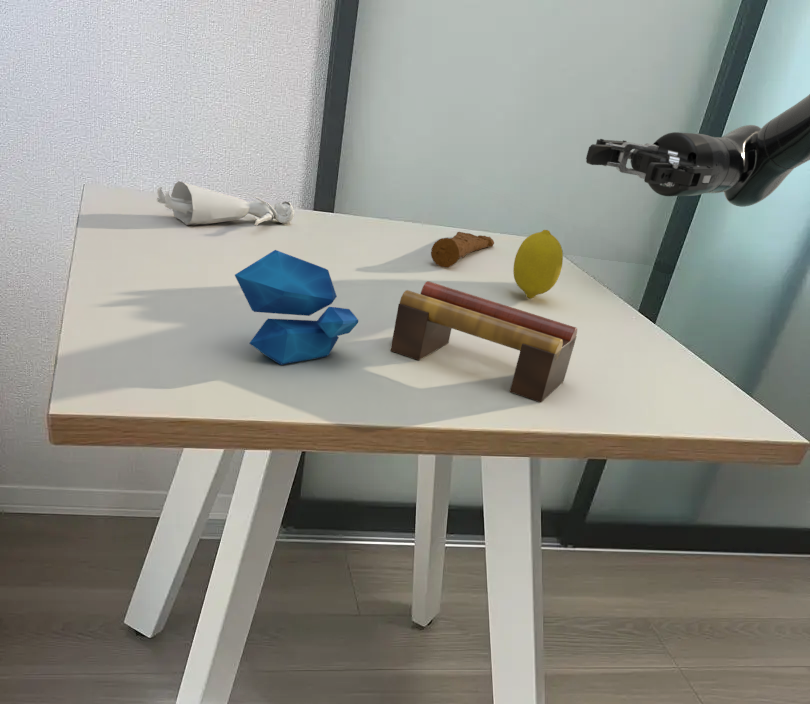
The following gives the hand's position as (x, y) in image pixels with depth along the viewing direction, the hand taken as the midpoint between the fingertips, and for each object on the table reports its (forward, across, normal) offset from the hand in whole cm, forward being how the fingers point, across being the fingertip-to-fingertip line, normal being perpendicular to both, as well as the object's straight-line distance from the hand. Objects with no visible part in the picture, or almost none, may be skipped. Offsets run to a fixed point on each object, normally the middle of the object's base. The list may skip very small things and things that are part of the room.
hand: (619, 163), depth 106 cm
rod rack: (+35, +13, +15) cm, 41 cm away
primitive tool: (+6, -17, +16) cm, 24 cm away
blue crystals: (+51, +5, +15) cm, 53 cm away
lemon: (+11, 0, +15) cm, 19 cm away
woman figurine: (+31, -33, +16) cm, 48 cm away
